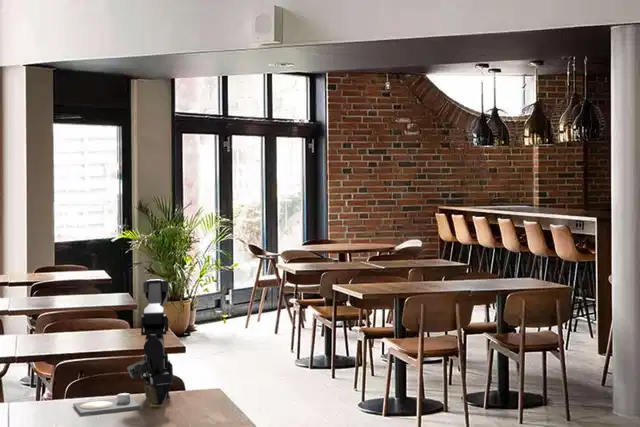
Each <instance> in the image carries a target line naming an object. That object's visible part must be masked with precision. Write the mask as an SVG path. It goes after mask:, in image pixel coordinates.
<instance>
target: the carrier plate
mask: <svg viewBox="0 0 640 427" xmlns="http://www.w3.org/2000/svg"><path fill="white" fill-rule="evenodd" d="M72 405H73V406H74V407H75V408H74V407H73V406H72V407H73V408H74V409H75V410H77V411H78V412H77V411H76V412H77V413H78V414H79V416H80V415H81V416H80V417H84V416H90V415H91V416H92V415H98V414H99V415H100V413H101V414H109V413H108V412H110V413H116V412H125V411H127V412H128V411H132V410H133V411H134V410H135V411H136V410H140V409H141V406H140V404H139V403H137V402H136V401H135V400H134V399H133V398H132V397H131V393H127V392H123V393H118V394H117V395H116V398H110V399H109V398H107V399H101V400H92V401H91V400H90V401H83V402H82V401H81V402H73V403H72Z"/></svg>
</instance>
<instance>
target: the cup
mask: <svg viewBox="0 0 640 427" xmlns="http://www.w3.org/2000/svg"><path fill="white" fill-rule="evenodd" d="M143 386H144V387H143V388H144V393H145V399H146V401H147V402H148V403H149V404H150V407H151V408H152V409H153V410H155V409H161V408H162V407H163V405H164V404H162V405H158V401H157V396H156V390H155V388H154V387H153V386H152V385H151V382H150V383H149V382H148V381H147V382H146V381H145V382H144V383H143ZM166 397H167V394H166V396H165V399H164V401H163V403H164V402H165V401H166V399H167V398H166Z"/></svg>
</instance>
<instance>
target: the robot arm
mask: <svg viewBox="0 0 640 427" xmlns="http://www.w3.org/2000/svg"><path fill="white" fill-rule="evenodd" d="M142 289H143V290H142V293H143V296H145V301H146V303H147V306H146V307H145V308H143V315H141V316H140V320H141V321H140V336H145V337H144V338H145V339H144V341H145V342H144V345H143V352H144V355H143V356H142V357H143V360H140V361H137V362H135V363H133V364H131V365H129V366H127V367H126V369H127V371H128V373H129V374H128V375H129V377H130V378H132V379H133V380H134V379H137V378H138V377H141V379H143V380H144V381H145V382H146V383H147V381H148V382H149V383H150V382H151V385H152V386H153V387H154V388H155V390H156V396H157V401H158V405H162V404H163V403H164V402H165V401H164V399H165V396H166V394H167V397H166V399H171V395H170V387H171V385H172V383H174V379H173V378H174V372H173V371H174V369H173V368H174V367H173V364H172V363H171V360H170V359H169V355H168V353H167V352H168V351H167V350H166V349H165V336H164V335H167V332H169V317H168V315H167V314H165V308H164V306H165V304H166V303H167V301H168V295H169V294H170V282H169V281H166V280H163V279H161V278H150V279H149V280H146V281H144V282H143V284H142ZM166 399H165V400H166ZM163 401H164V402H163ZM163 405H164V404H163Z"/></svg>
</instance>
